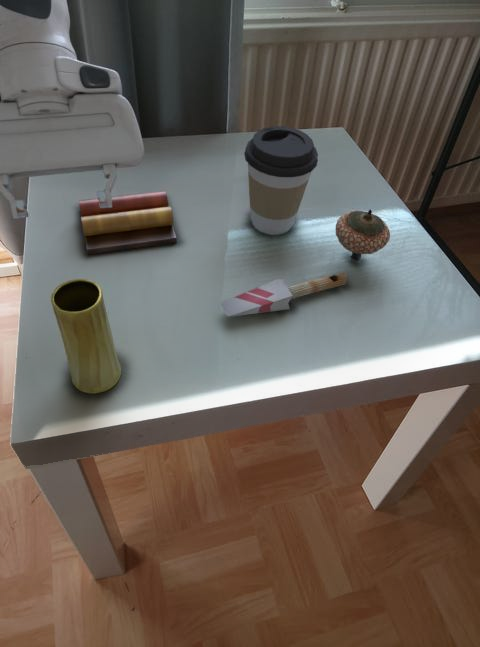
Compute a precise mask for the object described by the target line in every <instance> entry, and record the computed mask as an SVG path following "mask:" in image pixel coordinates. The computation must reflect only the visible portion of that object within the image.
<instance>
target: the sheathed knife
mask: <svg viewBox="0 0 480 647" xmlns="http://www.w3.org/2000/svg"><path fill="white" fill-rule="evenodd" d="M347 279H348V278H347V276H346V274H345V273H344V272H340V273H337V274H332V275H327V276H323V277H321V278H316V279H313V280H308V281H305V282H301V283H298V284H293V285H288V286H287V285H286V283H285V282H284V281H283V280H282V278H278V279H275V280H272V281H270V282H268V283H265V284H262V285H260V286H258V287H255V288H253V289H250V290H248V291H245V292H243V293H241V294H238V295H235V296H233V297H231V298H228V299H226V300H224V301H221V302H219V304H220V306H221V307H222V310H223V311H224V312H225V314H226V316H227V317H235V316H236V317H237V316H244V315H252V314H254V315H255V314H261V313H269V312H270V313H271V312H278V311H287V310H290V304H289V302H290V301H291V300H292V299H296V298H299V297H303V296H307V295H311V294H314V293H318V292H321V291H325V290H330V289H333V288H337V287H340V286H344V285H346V284H347V281H348V280H347Z"/></svg>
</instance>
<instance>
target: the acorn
mask: <svg viewBox="0 0 480 647" xmlns="http://www.w3.org/2000/svg"><path fill="white" fill-rule="evenodd" d="M335 236H336V237H337V239H338V242H339V243H340V245H341V246H342V247H343V248H344V249H345V250H347V251H348V252H351V255H350V256H349V257H350V259H351V260H353V261H354V262H360V260H361V257H362V255H373V254H374V253H377V252H379V251H380V250H383V248H385V246H387V244H388V243H389V241H390V238H391V232H390V229H389V227H388V225H387V223H386V221H384V220H383V219H382V218H381V217H380V216H378V215H376V214H373V210H372V209H371V208H370V209H369V210H368V211H363V210H350V211H349V212H346V213H343V214H342V215H341V216H339V218H338V219H337V221H336V224H335Z"/></svg>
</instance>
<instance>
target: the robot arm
mask: <svg viewBox="0 0 480 647" xmlns="http://www.w3.org/2000/svg"><path fill="white" fill-rule="evenodd" d="M68 5H69V4H68V2H67V0H0V193H1V194H2V196H4V198H6V200H7V201H8V202H9V207H10V211H11V215H12V218H13V219H15V220H17V219H24V218H29V212H28V211H27V209H28V206H27V202H26V201H25V199H16V198H15V196H14V195H13V194H12V193H11V191H9V189H12V188H13V184H12V180H13V179H22V178H24V179H25V178H32V177H43V176H54V175H63V174H72V173H73V174H75V173H83V172H84V173H85V172H95V171H102V172H103V177H104V179H107V181H106V184H105V187H104V190H98V191H96V194H97V198H98V200H99V206H100V209H103V208H112V200H111V197H112V195H111V193H112V191H113V189H114V186H115V184H116V180H117V177H118V176H117V175H118V173H117V169H125V168H126V169H127V168H135V167H139V166H140V164H141V163H142V161H143V159H144V157H145V147H144V142H143V137H142V134H141V133H142V132H141V130H140V126H139V122H138V119H137V116H136V114H135V110H134V109H133V106H132V105H131V103H130V102H129V101H128V99H127V98H126V97H125V96H123V84H122V81H121V76H120V75H119V74H120V73H118V72H117V71H115V70H114V69H111V68H107V67H104V66H100V65H95V64H91V63H88V62H84V61H80V60H78V57H77V53H76V51H75V49H74V47H73V44H72V42H71V37H70V28H71V17H70V11H69V7H68Z"/></svg>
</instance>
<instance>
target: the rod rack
mask: <svg viewBox="0 0 480 647" xmlns="http://www.w3.org/2000/svg"><path fill="white" fill-rule="evenodd" d="M167 194H168V193H167V192H166V190H160V191H151V192H142V193H133V194H132V193H131V194H124V195H115V196H111V200H112V208H103V209H100V206H99V200H98V197H97V198H88V199H79V200H78V205H79V212H80V215H81V216H80V221H81V226H82V231H83V235H84V241H85V247H86V254H87V255H93V254H94V255H95V254H100V253H101V254H102V253H108V252H115V251H116V252H117V251H123V250H131V249H137V248H139V249H140V248H144V247H145V248H146V247H153V246H160V245H161V246H162V245H167V244H176V243H178V242H177V240H178V239H177V235H176V233H175V229H174V214H173V210H172V207H171V206H169V201H168V195H167Z"/></svg>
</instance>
